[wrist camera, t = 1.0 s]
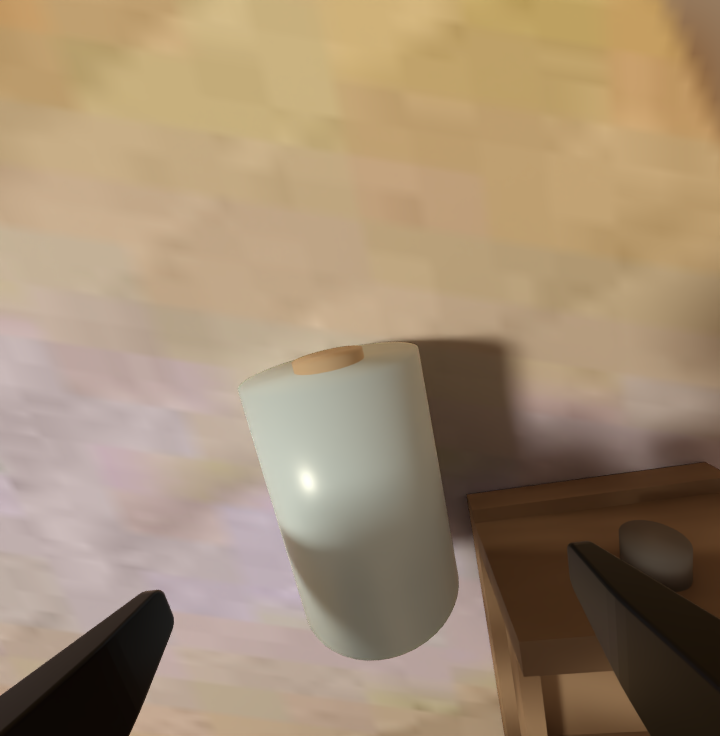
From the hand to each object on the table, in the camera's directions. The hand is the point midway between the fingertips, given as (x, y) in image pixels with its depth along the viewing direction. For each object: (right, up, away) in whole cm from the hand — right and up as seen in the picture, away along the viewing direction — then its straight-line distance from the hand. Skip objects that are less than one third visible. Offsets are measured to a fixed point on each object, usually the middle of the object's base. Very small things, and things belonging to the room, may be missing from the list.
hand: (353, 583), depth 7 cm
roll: (+1, +2, +6) cm, 7 cm away
